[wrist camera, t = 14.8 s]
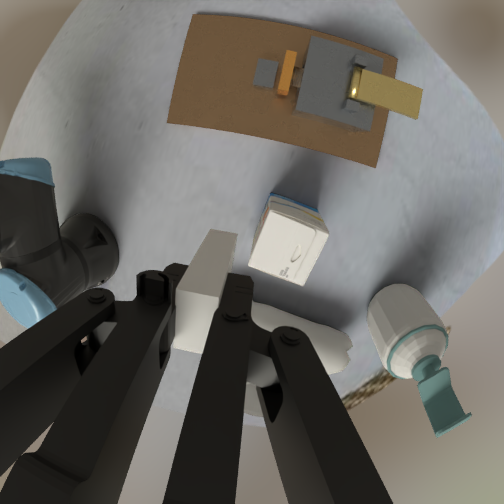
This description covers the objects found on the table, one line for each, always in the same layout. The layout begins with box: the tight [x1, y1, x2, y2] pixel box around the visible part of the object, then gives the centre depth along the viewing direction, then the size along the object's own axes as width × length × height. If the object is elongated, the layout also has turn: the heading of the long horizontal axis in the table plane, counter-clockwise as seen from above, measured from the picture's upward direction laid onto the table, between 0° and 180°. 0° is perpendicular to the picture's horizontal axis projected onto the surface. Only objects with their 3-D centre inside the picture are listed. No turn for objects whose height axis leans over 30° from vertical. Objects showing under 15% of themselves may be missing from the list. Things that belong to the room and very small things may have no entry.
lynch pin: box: [277, 50, 304, 96], centre depth 33 cm, size 13×6×4 cm, turn 78°
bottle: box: [251, 300, 353, 375], centre depth 51 cm, size 9×9×30 cm
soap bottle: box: [367, 284, 472, 438], centre depth 38 cm, size 12×12×31 cm
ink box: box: [248, 193, 329, 286], centre depth 42 cm, size 9×8×12 cm
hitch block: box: [167, 14, 398, 168], centre depth 33 cm, size 34×20×11 cm, turn 78°
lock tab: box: [348, 67, 423, 120], centre depth 28 cm, size 9×4×1 cm, turn 78°
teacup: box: [244, 382, 263, 417], centre depth 56 cm, size 12×15×10 cm
